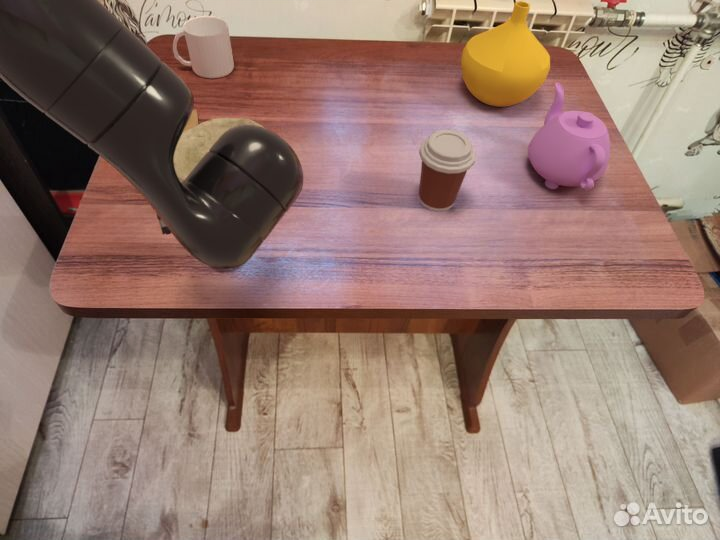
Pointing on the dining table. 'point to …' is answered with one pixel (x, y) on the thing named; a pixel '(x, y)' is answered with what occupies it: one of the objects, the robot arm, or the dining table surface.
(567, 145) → the teapot
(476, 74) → the vase
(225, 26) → the mug
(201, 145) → the bowl
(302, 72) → the dining table surface
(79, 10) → the robot arm
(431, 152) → the coffee cup
